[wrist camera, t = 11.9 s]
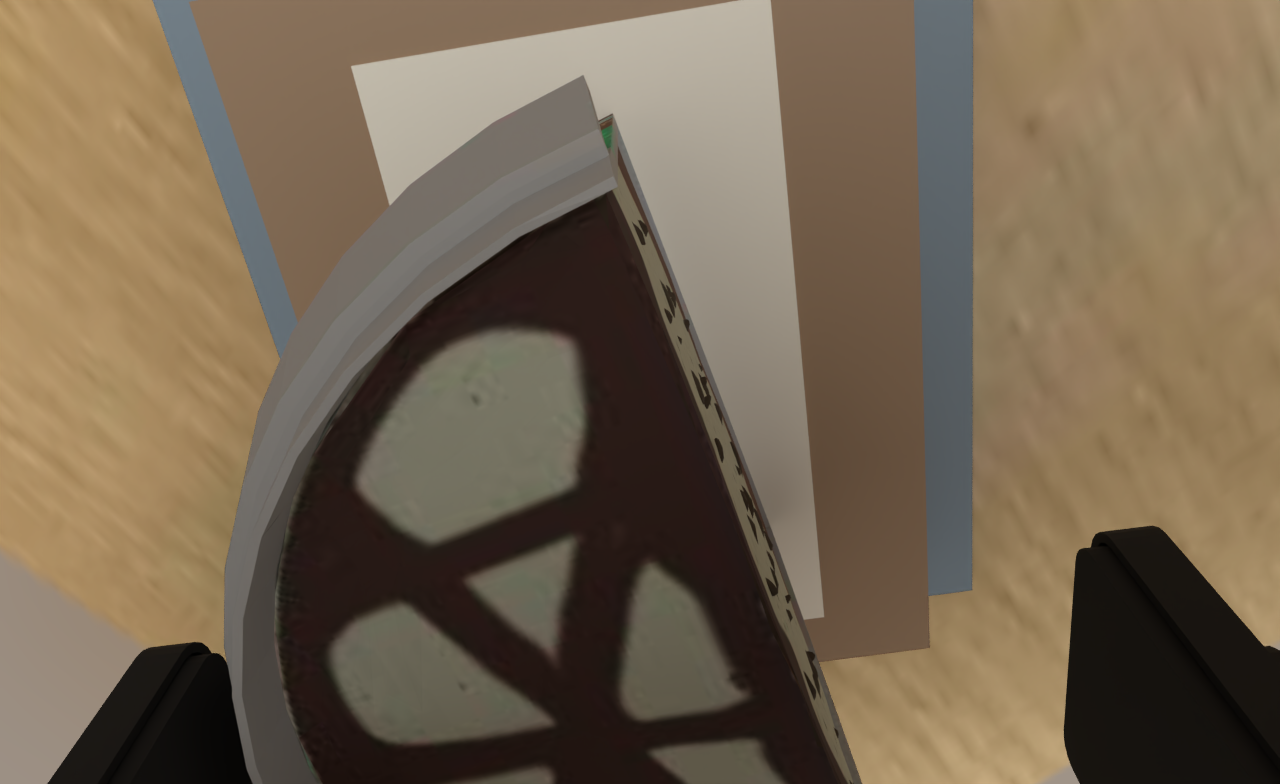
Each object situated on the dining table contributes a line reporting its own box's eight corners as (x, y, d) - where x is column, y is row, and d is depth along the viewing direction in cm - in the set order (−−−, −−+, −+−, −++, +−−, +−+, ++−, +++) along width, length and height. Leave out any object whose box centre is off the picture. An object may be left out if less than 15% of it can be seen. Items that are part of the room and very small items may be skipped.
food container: (254, 163, 16) (-166, 411, 7) (580, 26, 15) (586, 104, 6) (537, 668, 21) (509, 1195, 12) (791, 580, 20) (963, 1063, 11)
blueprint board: (965, -191, 17) (1041, -222, 14) (966, 581, 25) (1016, 672, 22) (147, -44, 18) (44, -44, 15) (393, 656, 26) (360, 755, 23)
